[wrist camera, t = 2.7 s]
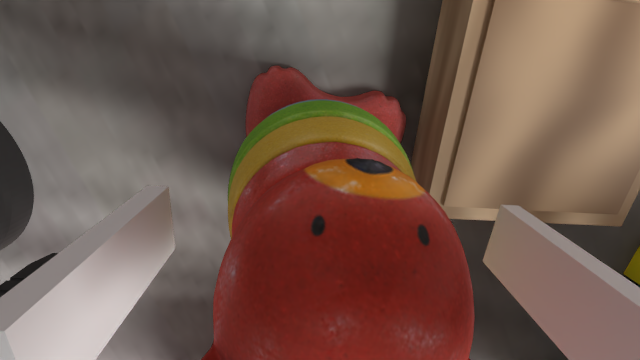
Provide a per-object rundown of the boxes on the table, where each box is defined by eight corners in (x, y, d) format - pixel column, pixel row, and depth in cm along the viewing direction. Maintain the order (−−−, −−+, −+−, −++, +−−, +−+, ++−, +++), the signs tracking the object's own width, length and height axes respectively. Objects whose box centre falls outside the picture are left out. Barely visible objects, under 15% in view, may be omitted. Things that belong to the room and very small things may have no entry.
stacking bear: (411, 99, 21) (809, 244, 4) (367, 224, 24) (497, 565, 8) (256, 57, 20) (-8, 40, 3) (232, 196, 23) (50, 542, 6)
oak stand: (405, 192, 24) (425, 219, 20) (445, -17, 18) (484, -38, 15) (573, 201, 25) (624, 228, 21) (655, 5, 19) (744, -10, 16)
